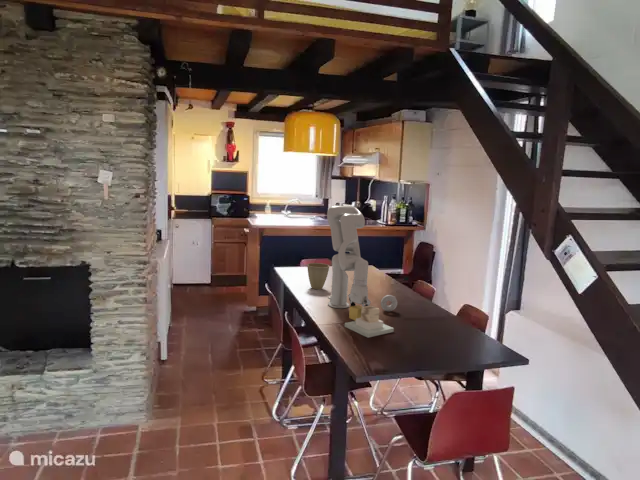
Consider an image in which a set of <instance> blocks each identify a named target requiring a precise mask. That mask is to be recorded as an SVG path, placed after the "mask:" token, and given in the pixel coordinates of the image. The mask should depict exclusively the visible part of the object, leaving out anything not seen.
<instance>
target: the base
mask: <svg viewBox="0 0 640 480" xmlns="http://www.w3.org/2000/svg"><path fill="white" fill-rule="evenodd" d="M344 328H346V329H348V330H350V331H353V332H355V333H357V334H358V335H361V336H363V337H366V338H372V337H377V336H381V335H386V334H390V333H394V332H395V331H394V330H395V328H394V327H392V326H389V325H387V324H385V323H384V320H381V319H379V321H375V322H370V323H369V322H367V321H364V320H362V319H361V318H356V321H355V320H352V321H348V322H344Z"/></svg>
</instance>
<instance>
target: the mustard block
mask: <svg viewBox="0 0 640 480" xmlns="http://www.w3.org/2000/svg"><path fill="white" fill-rule="evenodd" d="M362 307H363V306H362V305H360V304H357V305H355V306H351V307H350V306H349V311H348V313H349V314H348V315H349V316H348V318H349V319H351V320H352V321H356V318H361V311H362Z"/></svg>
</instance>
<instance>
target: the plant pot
mask: <svg viewBox="0 0 640 480" xmlns="http://www.w3.org/2000/svg"><path fill="white" fill-rule="evenodd" d="M329 271H330V265H329V264H326V263H320V262H319V263H318V262H310V263H307V273H308V274H307V275H308V281H309V284H310V288H311V289H312V290H317V289H319V290H322V289H323V288H324V285H325V283H326V281H327V277H328V276H329V275H328V274H329Z"/></svg>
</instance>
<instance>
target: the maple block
mask: <svg viewBox="0 0 640 480" xmlns="http://www.w3.org/2000/svg"><path fill="white" fill-rule="evenodd" d="M379 318H380V308H379V307H376V306H374V305H371V304H370V306H364V307H363V306H362V311H361V319H362V320H364V321H367V322H369V323H370V322H375V321H379V320H380V319H379Z"/></svg>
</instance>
